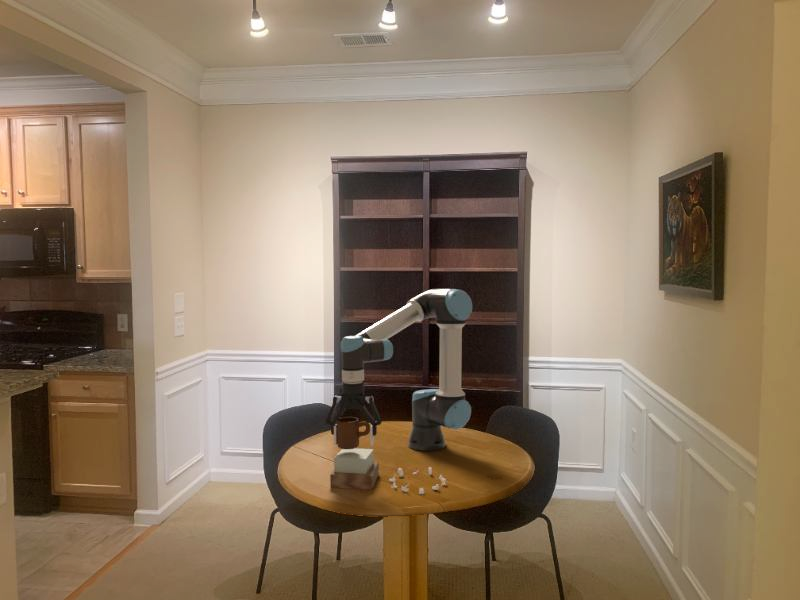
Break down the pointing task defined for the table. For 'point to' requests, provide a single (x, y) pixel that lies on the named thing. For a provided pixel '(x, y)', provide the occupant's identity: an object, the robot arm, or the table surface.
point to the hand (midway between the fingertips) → (354, 444)
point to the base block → (355, 479)
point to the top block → (354, 460)
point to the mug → (350, 432)
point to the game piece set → (419, 488)
